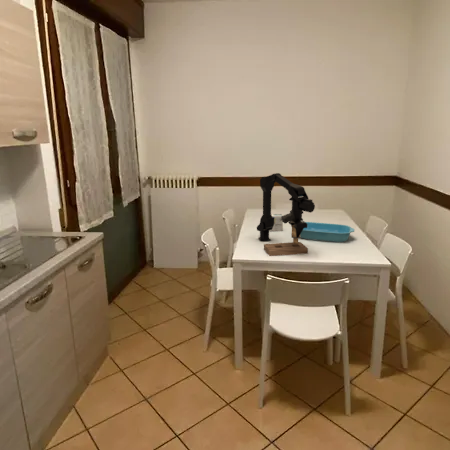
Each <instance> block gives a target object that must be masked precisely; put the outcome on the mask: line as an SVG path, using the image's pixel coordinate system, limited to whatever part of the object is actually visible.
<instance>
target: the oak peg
mask: <svg viewBox="0 0 450 450" xmlns="http://www.w3.org/2000/svg"><path fill="white" fill-rule="evenodd" d="M293 226H294V225H292V227H291V238H292V240H293V241H292V242H293V243H294V244H298V242H299V239H300V238H301V237H300V236H299V237H298V238H297V237H296V229H295V228H294V227H293Z"/></svg>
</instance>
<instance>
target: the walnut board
mask: <svg viewBox="0 0 450 450" xmlns="http://www.w3.org/2000/svg"><path fill="white" fill-rule="evenodd" d="M263 250H264V251H265V253H266V254H267V255H268V256H269V257H272V256H273V257H274V256H275V257H276V256H278V257H279V256H291V255H293V256H294V255H305V254H306V255H307V254H309V252H308V251H309V248H308V247H307V246H306V245H305V244H303V242H301V241H298V244H294V243H293V241H292V242H278V243H264V244H263Z"/></svg>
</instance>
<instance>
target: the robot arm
mask: <svg viewBox="0 0 450 450" xmlns="http://www.w3.org/2000/svg"><path fill="white" fill-rule="evenodd" d="M275 183H278V185H280V186H281V187H283V188H284V189H285V190H286V191H287V192H288V194H289V195H290V198H288V199H289V201H291V210H290V211H289V213H287V214H284V215H282V216H281V218H282V221H283V223H284V224H287V223H288V224H289V225H290V227H291V228H292V225H294V226H293V227H294V228H295V229H296V237H297V238H298V237H299V236H300V234H301V232H302V230H303V229H304V228H307V225H308V224H307V223H306V222H307V221H304V219H303V214H304V212H306V213H313V212H314V211H315V208H316V206H315V202H313V199H309V196H308V193H306V189H305V187H304V186H302V185H300V184H296V183H294V182H292V181H290V180H289V179H287V178H286V177H285V176H284V175H282V174H281V173H279V172H276V173H271V174H270V175H267V176H262V177H261V178H260V179H259V184H260V188H261V190H262V215H261V217H260V221H259V223H258V225H257V226H256V231H258V232H259V237H258V239H259V241H260V242H269V241H271V238H270V231H269V230H272V228H273V226H274V224H275V223H274V217H272V215H271V214H272V191H273V189H274V187H275ZM298 239H299V238H298Z"/></svg>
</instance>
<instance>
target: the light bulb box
mask: <svg viewBox="0 0 450 450" xmlns="http://www.w3.org/2000/svg"><path fill="white" fill-rule="evenodd" d="M271 215H272V217H274V223H275V224H274V226H273V228H272V230H269V232H283V229H284V228H283V226H284V224H283V223H284V222H283V221H282V218H281V216H283V215H282V213H271Z"/></svg>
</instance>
